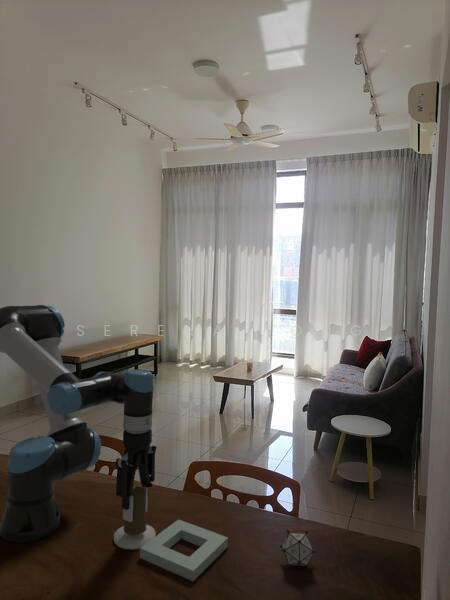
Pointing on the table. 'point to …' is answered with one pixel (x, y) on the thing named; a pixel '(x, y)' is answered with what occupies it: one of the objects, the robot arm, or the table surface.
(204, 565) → the frame
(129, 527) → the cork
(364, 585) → the table surface
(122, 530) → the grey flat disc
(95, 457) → the robot arm
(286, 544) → the game die
